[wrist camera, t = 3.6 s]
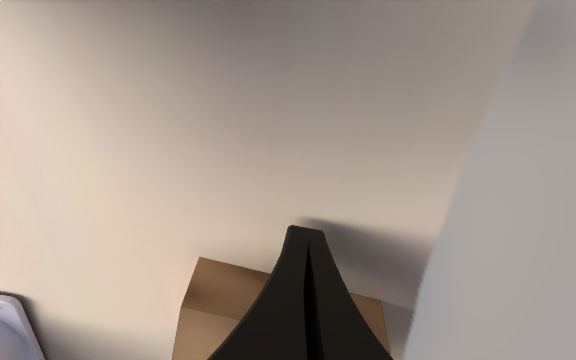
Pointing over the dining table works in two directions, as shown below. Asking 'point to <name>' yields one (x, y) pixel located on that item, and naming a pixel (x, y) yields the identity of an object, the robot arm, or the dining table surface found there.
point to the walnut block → (235, 308)
